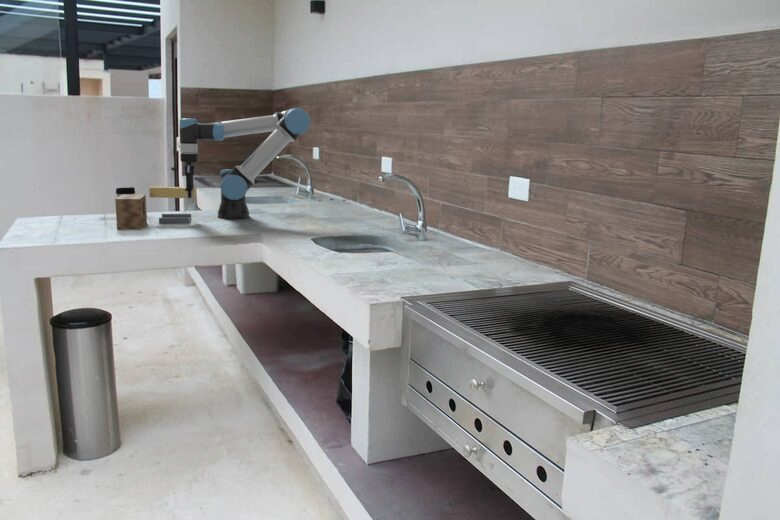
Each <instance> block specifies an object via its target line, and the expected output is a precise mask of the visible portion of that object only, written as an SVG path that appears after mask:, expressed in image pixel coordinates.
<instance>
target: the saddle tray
mask: <svg viewBox="0 0 780 520" xmlns="http://www.w3.org/2000/svg"><path fill="white" fill-rule="evenodd" d="M191 221H192V213H162V214H161V217H158V224H159V225H190V224H191Z"/></svg>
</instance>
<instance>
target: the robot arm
mask: <svg viewBox="0 0 780 520" xmlns="http://www.w3.org/2000/svg"><path fill="white" fill-rule="evenodd" d="M310 125H311V118H310V115H309V114H308V113H307V111H305V110H304V109H303V108H300V107H293V108H290V109H286V110H283V111H277V112H275V113H273V115H264V116H255V117H247V118H246V117H245V118H240V119H239V118H238V119H233V120H224V121H217V122H216V121H215V122H207V123H205V122H204V123H203V122H202V123H200V122H198V121H197V119H196V118H190V117H189V118H184V117H183V118H180V120H179V143H180V144H179V145H178V148H180V162H182V163H185V164H186V165H185V166H184V170H185V171H184V174H185V185H186V186H185V187H186V189H185V191H187V198H186V205H187V206H193V205H194V204H195V198H193V191H192V190H193V189H192V188H196V187H195V184H194V175H195V171H194V170H195V165H193V163H196V162H198V161H199V160H198V159H199V158H198V157H199V155H198V150H199V149H198V146H199V145H198V141H216V142H218V141H223V140H225V138H231V137H232V138H233V137H238V136H247V135H254V134H263V133H269V132H271V133H270V135H268V136H267V138H266V139H265V140H264V141H263V142H261V144H260V145H259V146H258V147H257V148H256V149H255V150H254V151H253V152H252V154H250V155H249V157H247V158H246V159H245V161H243V163H242V164H241V165H235V166H234V167H233V168H232V169H221V170H220V174H219V176H220V185H219V187H220V204H219V207H218V210H217V217H218V218H219V219H225V220H227V219H229V220H239V219H247V218H249V217H250V210H249V208H248V204H247V201H246V194H247V192H248V191H249V190H250V189H251V187H252V186H253V185H255V179H256V177H257V176H258V175H260V173H261V172H262V171H263V170H265V168H267V166H268V165H269V164H270V163H271V162H272V161H273V160H274V159H275V158H276V157H277V156H278V154H280V153H281V152H282V151H283V149H285V148H286V146H288V144H289V143H292V142H295V141H297V140H298V138H299V137H301V135H303V134H305V133H306V132H308V130H309V128H310Z"/></svg>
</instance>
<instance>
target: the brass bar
mask: <svg viewBox="0 0 780 520" xmlns="http://www.w3.org/2000/svg"><path fill="white" fill-rule="evenodd" d="M148 188H149V190H148V191H149V198H163V199H164V198H166V199H169V198H170V199H187V191H185V189H186V186H185V187H183V186H158V185H157V186H156V185H155V186H153V185H151V186H149V187H148ZM192 189H193V190H192V191H193V198H194V199H197V187H195V188H192Z"/></svg>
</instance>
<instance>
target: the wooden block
mask: <svg viewBox="0 0 780 520" xmlns="http://www.w3.org/2000/svg"><path fill="white" fill-rule="evenodd" d="M146 195H147V194H136V193H135V194H122V195H120V196H119V197H117V196H116V198H115V200H114V201H115V216H116V217H115V218H116V219H115V220H116V230H143V229H144V227H146V226H147V224H148V219H147V215H148V214H147V199H146V198H147V196H146Z"/></svg>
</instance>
